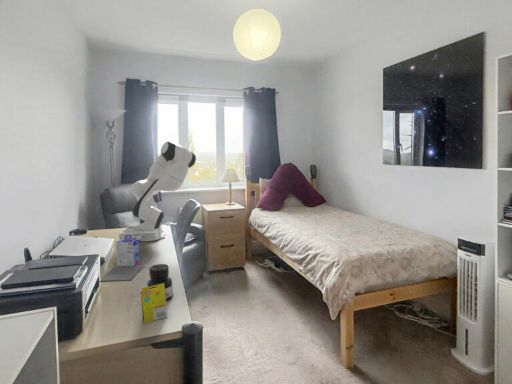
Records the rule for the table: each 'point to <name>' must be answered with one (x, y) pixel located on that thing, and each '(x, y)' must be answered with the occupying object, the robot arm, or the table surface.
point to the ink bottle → (161, 279)
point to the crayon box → (153, 303)
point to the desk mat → (121, 273)
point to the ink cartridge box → (128, 252)
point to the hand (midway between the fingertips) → (134, 238)
